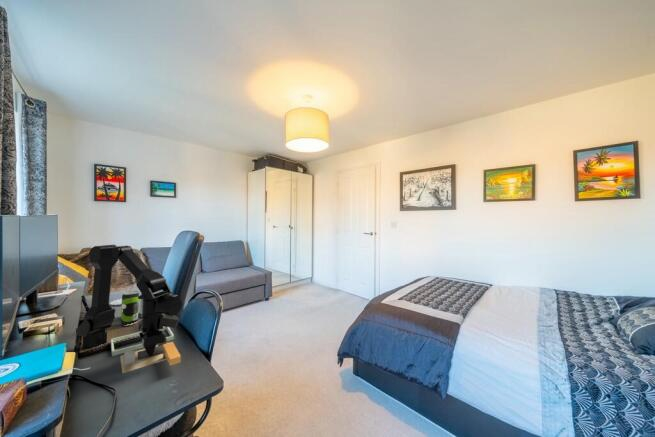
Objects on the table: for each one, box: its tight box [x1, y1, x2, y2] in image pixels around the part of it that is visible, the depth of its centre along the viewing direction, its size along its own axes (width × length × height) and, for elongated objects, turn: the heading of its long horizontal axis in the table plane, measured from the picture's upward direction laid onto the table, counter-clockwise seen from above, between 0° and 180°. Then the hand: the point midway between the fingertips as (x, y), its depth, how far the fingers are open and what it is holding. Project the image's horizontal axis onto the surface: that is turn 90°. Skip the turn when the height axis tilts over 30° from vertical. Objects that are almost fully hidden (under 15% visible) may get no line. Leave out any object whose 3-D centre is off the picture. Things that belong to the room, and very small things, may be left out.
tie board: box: [119, 341, 172, 374], centre depth 88 cm, size 16×13×4 cm
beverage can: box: [120, 290, 140, 326], centre depth 114 cm, size 6×6×15 cm
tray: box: [110, 326, 175, 357], centre depth 98 cm, size 19×12×2 cm, turn 133°
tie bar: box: [163, 341, 182, 366], centre depth 83 cm, size 3×12×2 cm, turn 43°
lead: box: [123, 345, 163, 365], centre depth 88 cm, size 14×3×3 cm, turn 133°
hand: (150, 354), depth 88 cm, fingers closed on lead, 2 cm apart
